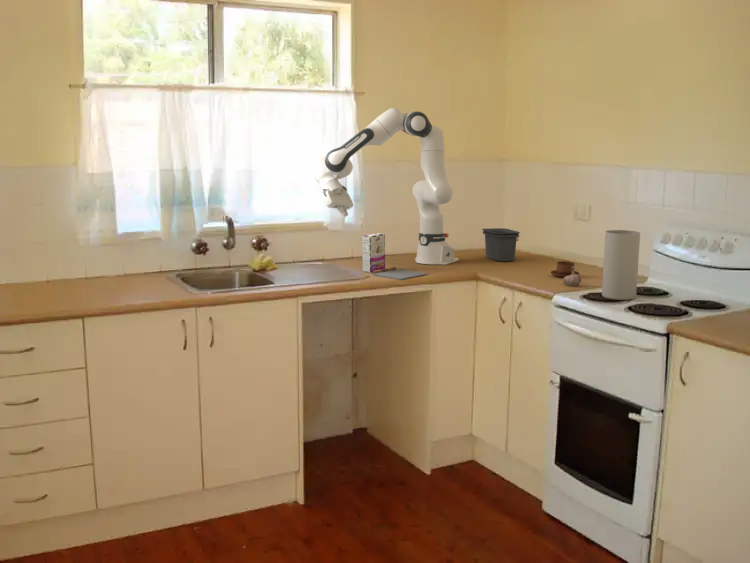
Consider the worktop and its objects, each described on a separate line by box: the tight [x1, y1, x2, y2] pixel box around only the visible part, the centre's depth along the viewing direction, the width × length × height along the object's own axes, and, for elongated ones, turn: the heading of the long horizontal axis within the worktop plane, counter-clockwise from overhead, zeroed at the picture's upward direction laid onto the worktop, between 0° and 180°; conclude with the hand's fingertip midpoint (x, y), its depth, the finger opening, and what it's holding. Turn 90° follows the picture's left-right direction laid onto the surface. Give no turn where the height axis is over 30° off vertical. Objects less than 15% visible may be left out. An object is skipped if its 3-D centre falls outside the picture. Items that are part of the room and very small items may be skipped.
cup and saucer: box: [550, 260, 580, 279], centre depth 353 cm, size 12×12×6 cm
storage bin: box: [481, 227, 521, 262], centre depth 399 cm, size 21×16×14 cm
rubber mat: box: [372, 268, 429, 281], centre depth 354 cm, size 18×16×1 cm
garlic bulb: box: [562, 266, 582, 288], centre depth 332 cm, size 8×7×8 cm
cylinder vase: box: [601, 229, 641, 301], centre depth 307 cm, size 12×12×25 cm
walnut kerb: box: [372, 266, 397, 275], centre depth 360 cm, size 14×1×2 cm, turn 137°
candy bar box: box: [361, 232, 386, 273], centre depth 364 cm, size 11×5×16 cm, turn 143°
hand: (345, 215), depth 373 cm, fingers closed
